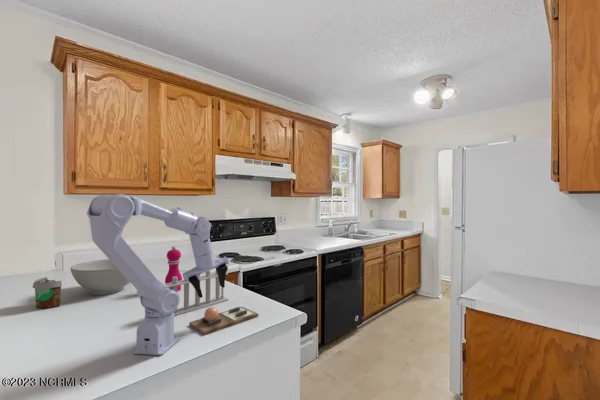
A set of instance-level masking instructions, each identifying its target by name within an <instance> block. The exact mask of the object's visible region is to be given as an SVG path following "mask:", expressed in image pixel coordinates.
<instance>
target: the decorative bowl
mask: <svg viewBox="0 0 600 400" xmlns="http://www.w3.org/2000/svg"><path fill="white" fill-rule="evenodd" d="M69 268H70V272H71V275H72V276H73V278H74V281H75V282H76V283H77V284H78V285H79V286H80V287H82V288H83V289H85V290H88V291H90V293H91V294H92V295H111V294H115V293H119V292H121V291H123V290H124V289H125V287H126V286H128V285H129V284H131V283H130V281H129V280H128V279H127V278H126V277H125V276H124V275H123V274H122V273H121V272H120V270H119V269H118V268H117V267H116V266H115V265H114V264H113V263H112V262H111V261H110V260H109V258H108V259H107V258H105V259H97V260H90V261H85V262H81V263H77V264H75V265H72V266H71V267H69Z"/></svg>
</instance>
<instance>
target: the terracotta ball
mask: <svg viewBox="0 0 600 400" xmlns="http://www.w3.org/2000/svg"><path fill="white" fill-rule="evenodd" d="M218 315H219V310H218V309H217V308H216V307H213V306H209V308H208V307H207V309H206V310H205V311H204V316H203V317H205V319H206V320H207V321H208V322H209V321H213V320H216V319H217V318H218Z"/></svg>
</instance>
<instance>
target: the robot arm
mask: <svg viewBox="0 0 600 400" xmlns="http://www.w3.org/2000/svg"><path fill="white" fill-rule="evenodd" d="M86 215H87V217H88V218H89V224H90V231H91V232H90V233H91V240H92V241H93V244H95V246H96V247H97V248H98V249H99V250H100V251H101V252H102V253H103V254H104V255H105V256H106V258H108V259H109V260H110V261H111V262H112V263H113V264H114V265H115V266H116V267H117V268H118V269H119V270H120V272H121V273H122V274H123V275H124V276H125V277H126V278H127V279H128V280H129V281H130V283H129V284H131V285H132V286H133V288H135V289H136V290H137V291H136V295H137V296H138V297H139V301H140V304H141V306H142V307H143V308H144V318H143V320H142V321H141V322H140V323H139V324H138V326H137V328H136V347H135V348H136V349H134V350H133V352H132V353H133V354H136V355H148V356H149V355H150V356H152V355H153V356H162V355H163V354H165V353H166V352H167V351H168V350H169V349H170V348H172V347H173V345H175V344H176V343H177V342H178V341H179V340H180V339H181V337H180V336H174V333H175V326H174V325H175V317H174V313H175V310H176V308H177V309H178V306H179V304H180V301H181V300H180V295H179V293H178V291H177V292H176V291H174V290H170V289H169V288H168V287H167V286H166V285H165V283H164V282H162V281H160V280H159V279H158V278H157V277H156V276H155V275H154V273H152V271H151V270H150V269H149V268H148V267H147V265H146V264H145V263H144V262H143V260H141V258H140V256H138V254H137V253H136V252H135V251H134V250H133V249H132V247H131V246H130V245H129V244H128V242H127V241H126V240H125V239H124V238H123V237H122V234H123V230H124V228H125V227H126V225H127V224H128V222H129V221H130V219H131V218H132V216H133V217H134V216H135V217H136V216H139V215H141V216H145V217H149V218H152V219H156V220H160V221H163V223H164V224H165V226H166V227H167V228H170V229H175V230H177V231H181V232H184V233H185V234H187V235H189V241H190V244H191V248H192V253H193V257H194V263H195V267H193V268H191V269H189V270H187V271H185V272H183V273H182V279H183V280H189V282H190V283H189V284H191V285H192V287H193V288H194V289H195V290H196V292H197V294H198V296H199V297H200V299H201V298H203V293H202V292H203V291H202V289H201V281H200V280H199V279H198V278H197V275H199V274H200V275H202V274H203V273H206V272H207V271H209V270H210V271H212V270H216V271H217V274H218V278H219V283H220V288H221V287H222V288H223V289H224V288H225V286H226V285H225V284H226V283H225V281H226V276H227V275H226V273H228V269H229V267H228V265H229V264H230V262H229V258H228V257H226V256H225V257H222V258H217V259H215V257H214V252H213V248H212V243H211V238H210V237H211V234H210V233H211V228H212V223H211V222H209V220H208V218H206V217H204V216H197V215H196V213H194V212H190V213H189V212H187V211H184V208H183V207H173V208H171V209H169V210H168V209H166V208H164V207H162V206H158V205H156V204H154V203H151V202H149V201H146V200H143V199H141V198H138V197H135V196H128V195H126V194H124V193H118V194H100V195H97V196H95V197H94V198H92V199H91V201H90V203H89V206H88V209H87V212H86ZM216 271H215V272H216Z"/></svg>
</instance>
